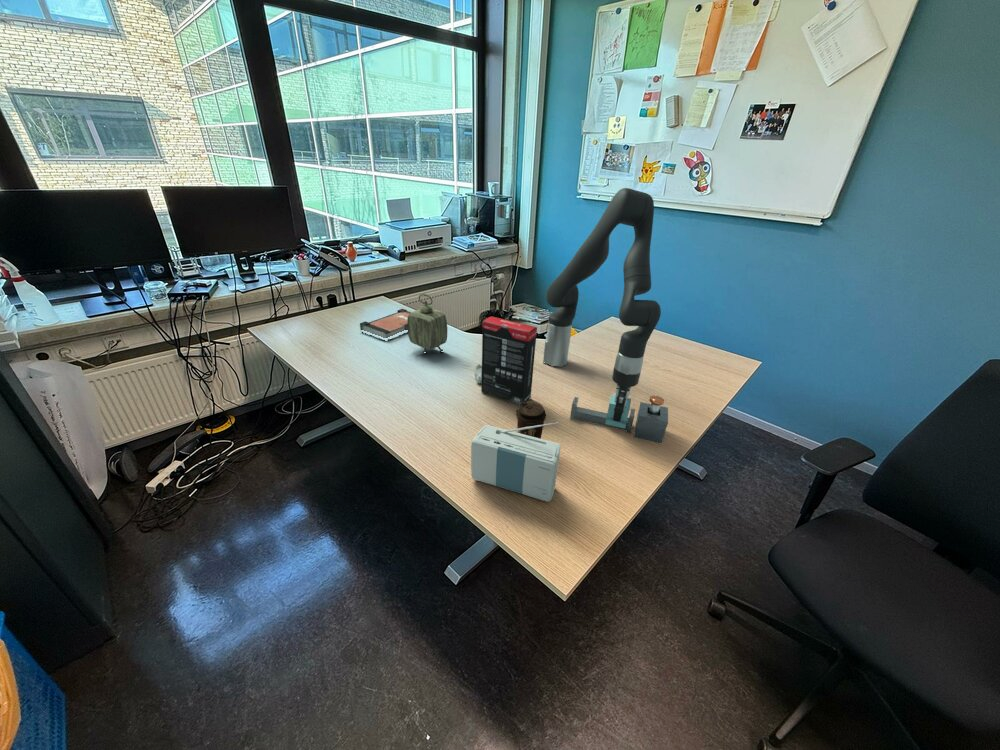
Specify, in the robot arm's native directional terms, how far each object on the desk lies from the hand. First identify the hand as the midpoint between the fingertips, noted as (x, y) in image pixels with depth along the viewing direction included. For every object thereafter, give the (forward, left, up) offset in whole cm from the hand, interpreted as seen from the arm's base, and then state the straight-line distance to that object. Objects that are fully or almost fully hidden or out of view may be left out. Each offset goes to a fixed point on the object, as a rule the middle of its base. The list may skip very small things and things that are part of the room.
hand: (617, 415), depth 122 cm
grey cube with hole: (+10, 0, -4) cm, 11 cm away
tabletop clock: (-80, +23, -4) cm, 83 cm away
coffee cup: (-23, -20, -4) cm, 30 cm away
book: (-106, +39, -5) cm, 113 cm away
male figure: (-51, +19, -5) cm, 54 cm away
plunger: (+10, 0, +2) cm, 10 cm away
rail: (-5, 0, -4) cm, 6 cm away
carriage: (0, 0, -2) cm, 2 cm away
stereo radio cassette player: (-22, -36, -4) cm, 42 cm away
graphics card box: (-38, +3, -4) cm, 38 cm away
